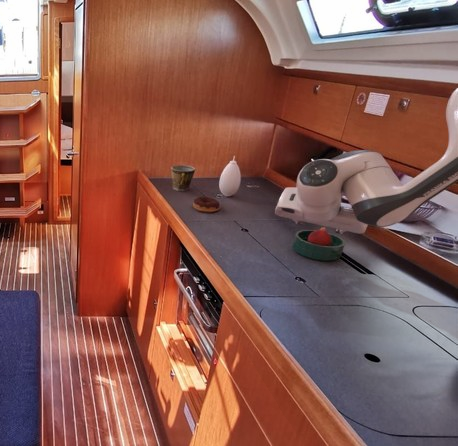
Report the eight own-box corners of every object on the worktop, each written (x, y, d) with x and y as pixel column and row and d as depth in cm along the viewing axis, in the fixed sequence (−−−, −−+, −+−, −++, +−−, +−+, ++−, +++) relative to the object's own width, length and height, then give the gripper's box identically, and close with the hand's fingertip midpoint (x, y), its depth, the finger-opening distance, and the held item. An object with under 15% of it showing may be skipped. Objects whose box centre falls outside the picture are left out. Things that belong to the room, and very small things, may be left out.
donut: (215, 215, 152) (217, 205, 151) (189, 210, 158) (190, 201, 156) (221, 207, 160) (223, 198, 158) (196, 202, 165) (197, 194, 164)
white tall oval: (240, 199, 167) (248, 157, 160) (220, 198, 168) (227, 157, 161) (234, 192, 174) (241, 152, 167) (215, 192, 175) (221, 152, 168)
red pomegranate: (309, 254, 121) (316, 231, 117) (301, 246, 126) (308, 223, 122) (331, 255, 119) (339, 232, 116) (322, 247, 124) (329, 224, 121)
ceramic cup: (168, 185, 188) (171, 164, 184) (191, 186, 185) (194, 165, 181) (169, 194, 177) (172, 172, 172) (193, 195, 173) (196, 173, 169)
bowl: (335, 247, 125) (339, 232, 123) (345, 265, 115) (350, 250, 113) (289, 241, 130) (293, 227, 128) (295, 258, 120) (299, 243, 118)
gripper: (375, 202, 95) (370, 226, 105) (279, 186, 109) (282, 208, 119) (366, 225, 94) (362, 247, 104) (270, 205, 108) (274, 226, 118)
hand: (319, 226), depth 112 cm, fingers open, 8 cm apart
